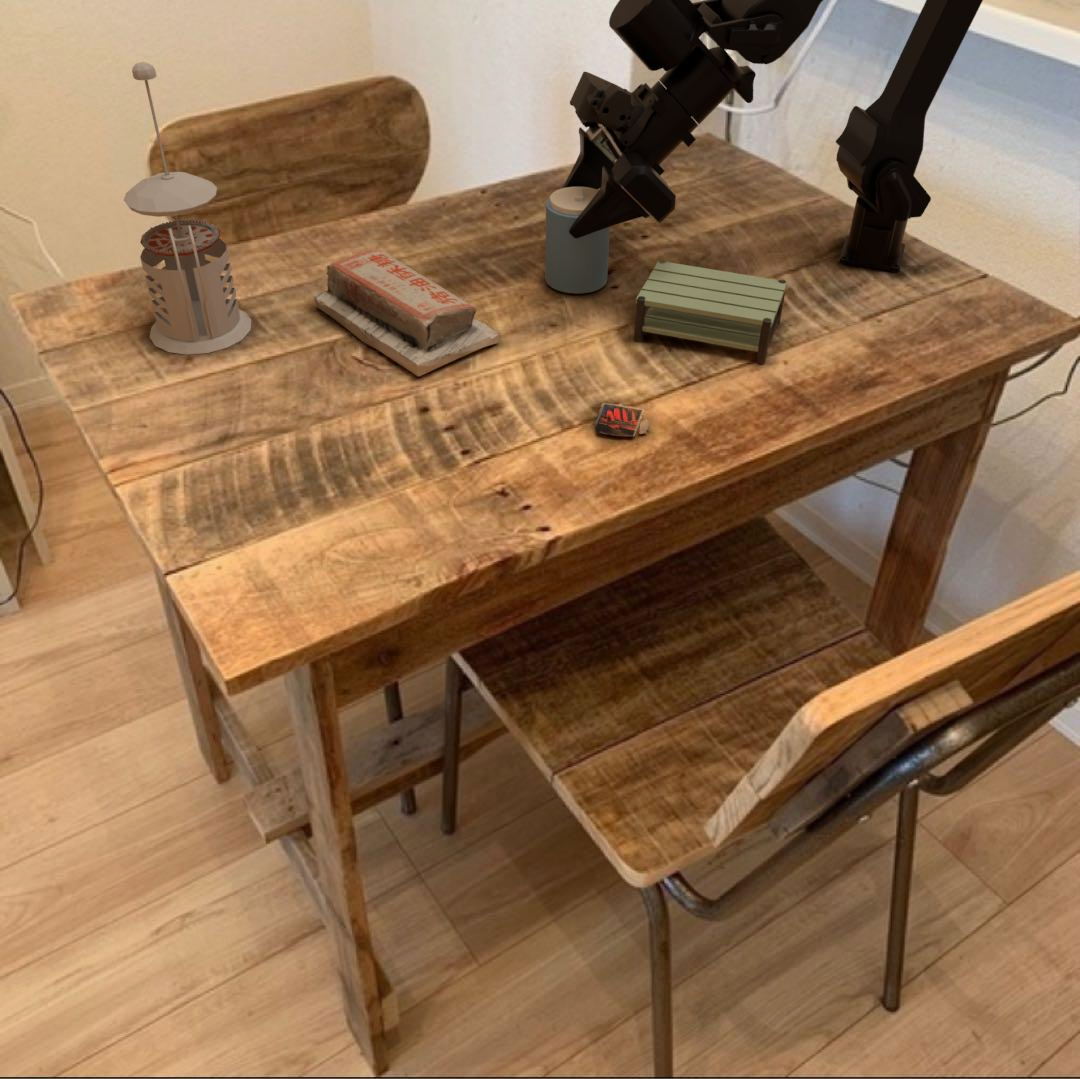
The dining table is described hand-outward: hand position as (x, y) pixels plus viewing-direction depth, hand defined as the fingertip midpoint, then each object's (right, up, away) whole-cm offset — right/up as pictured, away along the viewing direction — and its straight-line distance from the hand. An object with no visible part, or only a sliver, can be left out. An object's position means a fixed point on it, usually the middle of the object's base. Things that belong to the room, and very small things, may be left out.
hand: (564, 220), depth 109 cm
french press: (-36, -12, -4) cm, 38 cm away
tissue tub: (+1, -5, +4) cm, 7 cm away
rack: (+14, -12, -3) cm, 19 cm away
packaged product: (-16, -11, -3) cm, 20 cm away
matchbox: (+5, -22, -15) cm, 28 cm away
